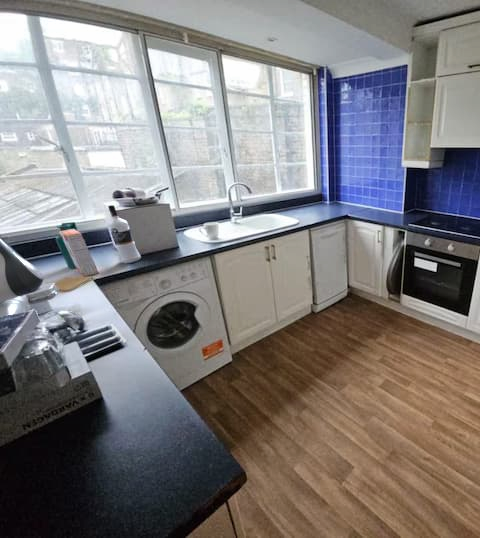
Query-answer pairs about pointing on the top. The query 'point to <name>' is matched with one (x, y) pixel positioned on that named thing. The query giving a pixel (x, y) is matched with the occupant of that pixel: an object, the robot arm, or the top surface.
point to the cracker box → (79, 252)
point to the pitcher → (62, 245)
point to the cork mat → (71, 283)
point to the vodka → (122, 238)
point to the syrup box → (41, 307)
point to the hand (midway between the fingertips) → (17, 291)
